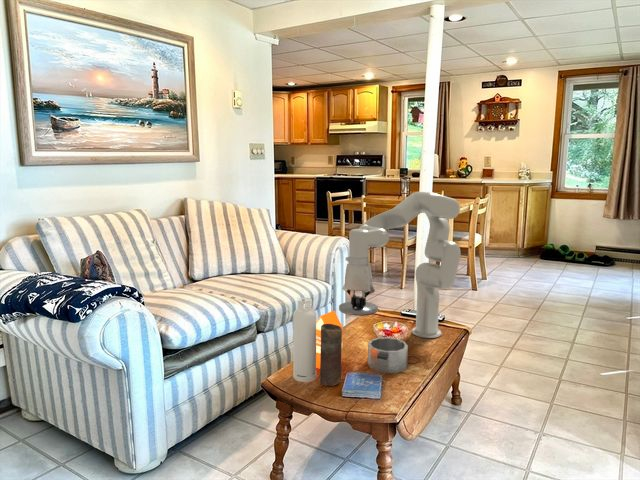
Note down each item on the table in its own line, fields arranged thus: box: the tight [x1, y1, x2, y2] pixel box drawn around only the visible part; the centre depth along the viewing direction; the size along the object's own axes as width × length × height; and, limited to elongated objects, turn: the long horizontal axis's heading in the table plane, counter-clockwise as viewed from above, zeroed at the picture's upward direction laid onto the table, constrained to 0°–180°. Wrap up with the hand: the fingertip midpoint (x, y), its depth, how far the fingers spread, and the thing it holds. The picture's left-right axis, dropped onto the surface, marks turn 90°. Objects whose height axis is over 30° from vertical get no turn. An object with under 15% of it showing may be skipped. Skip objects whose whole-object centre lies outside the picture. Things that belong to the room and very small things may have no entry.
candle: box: [319, 324, 343, 386], centre depth 161 cm, size 8×7×20 cm
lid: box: [338, 295, 379, 317], centre depth 186 cm, size 15×15×5 cm
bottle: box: [292, 297, 318, 383], centre depth 164 cm, size 8×8×28 cm
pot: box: [367, 336, 409, 374], centre depth 176 cm, size 19×14×8 cm
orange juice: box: [316, 310, 343, 370], centre depth 175 cm, size 8×9×20 cm
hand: (358, 306), depth 186 cm, fingers closed on lid, 2 cm apart
